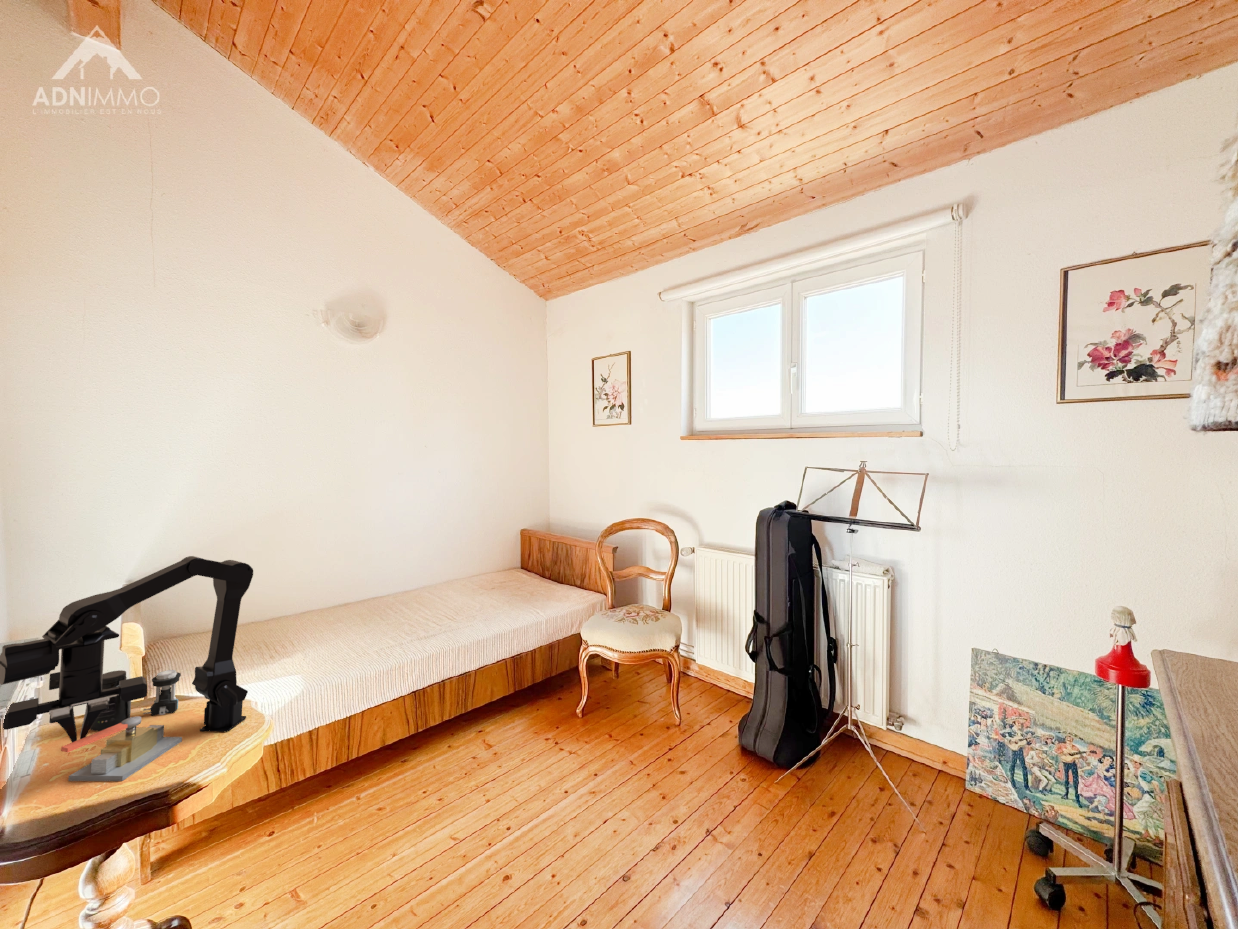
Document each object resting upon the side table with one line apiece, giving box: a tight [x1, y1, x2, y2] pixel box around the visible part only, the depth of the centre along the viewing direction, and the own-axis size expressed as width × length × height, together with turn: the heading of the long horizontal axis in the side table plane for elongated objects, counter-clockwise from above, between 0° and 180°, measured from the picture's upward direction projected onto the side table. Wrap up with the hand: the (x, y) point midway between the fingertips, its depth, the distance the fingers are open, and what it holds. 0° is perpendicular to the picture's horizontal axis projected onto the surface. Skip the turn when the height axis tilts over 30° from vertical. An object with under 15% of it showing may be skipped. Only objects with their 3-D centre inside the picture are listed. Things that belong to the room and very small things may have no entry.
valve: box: [90, 724, 165, 774], centre depth 102 cm, size 5×13×6 cm, turn 4°
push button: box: [142, 669, 182, 716], centre depth 121 cm, size 7×5×10 cm
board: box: [68, 736, 183, 782], centre depth 102 cm, size 10×14×1 cm
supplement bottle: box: [90, 669, 132, 732], centre depth 115 cm, size 7×7×12 cm
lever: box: [60, 715, 142, 754], centre depth 98 cm, size 12×3×1 cm, turn 167°
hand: (78, 743), depth 95 cm, fingers closed
